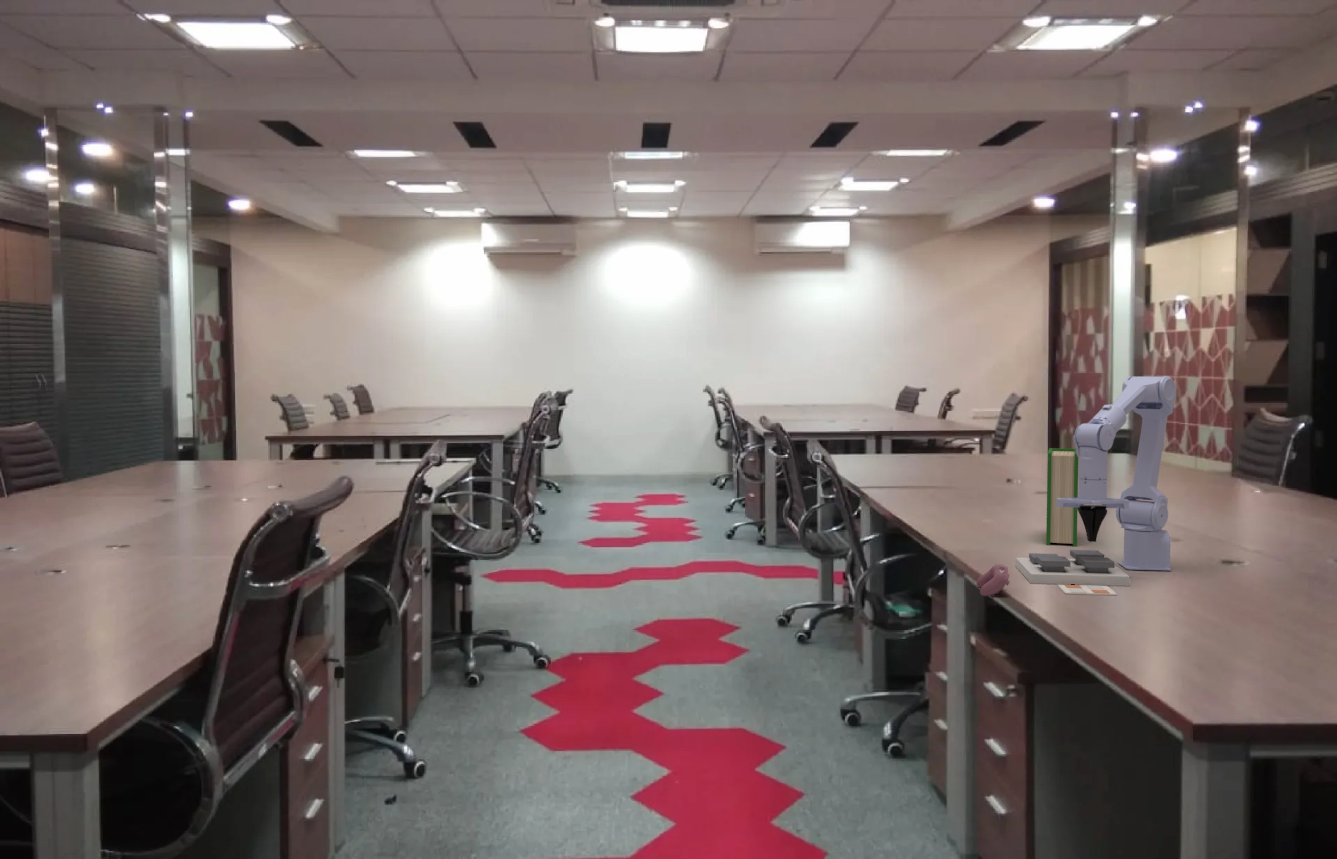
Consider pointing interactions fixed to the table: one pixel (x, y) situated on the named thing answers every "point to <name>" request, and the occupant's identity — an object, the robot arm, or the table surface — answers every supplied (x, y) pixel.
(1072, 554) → the button
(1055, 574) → the button board
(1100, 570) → the button
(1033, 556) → the button
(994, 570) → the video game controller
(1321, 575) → the table surface
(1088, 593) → the pattern card
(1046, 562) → the button
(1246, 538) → the table surface
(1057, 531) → the hardback book
